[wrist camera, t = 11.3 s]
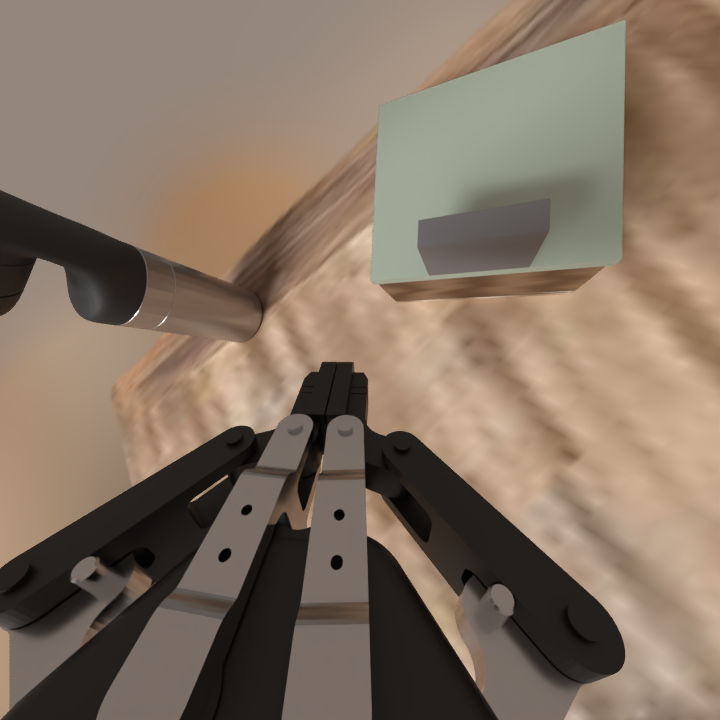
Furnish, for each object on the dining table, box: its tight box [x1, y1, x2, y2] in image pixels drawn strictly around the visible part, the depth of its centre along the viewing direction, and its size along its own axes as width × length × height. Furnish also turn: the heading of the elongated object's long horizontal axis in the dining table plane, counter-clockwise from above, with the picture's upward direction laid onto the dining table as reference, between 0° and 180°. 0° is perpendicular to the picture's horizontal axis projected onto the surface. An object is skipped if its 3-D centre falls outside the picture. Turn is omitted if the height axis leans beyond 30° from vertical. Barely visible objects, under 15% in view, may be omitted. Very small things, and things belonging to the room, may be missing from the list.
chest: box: [379, 266, 605, 303], centre depth 29 cm, size 19×18×8 cm
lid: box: [371, 19, 626, 285], centre depth 21 cm, size 20×18×7 cm
